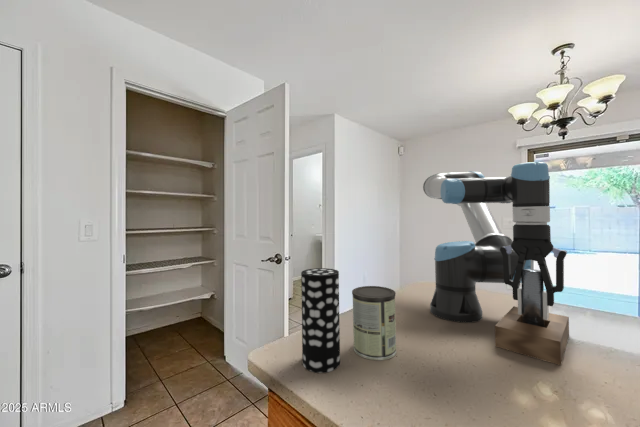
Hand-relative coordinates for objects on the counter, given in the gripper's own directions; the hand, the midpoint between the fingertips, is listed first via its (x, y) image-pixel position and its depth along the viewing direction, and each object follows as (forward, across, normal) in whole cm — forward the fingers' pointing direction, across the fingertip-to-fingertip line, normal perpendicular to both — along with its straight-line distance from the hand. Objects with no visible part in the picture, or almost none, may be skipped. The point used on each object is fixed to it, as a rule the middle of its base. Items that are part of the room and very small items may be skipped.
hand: (533, 315), depth 69 cm
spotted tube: (+7, -31, -45) cm, 55 cm away
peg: (+3, 0, 0) cm, 3 cm away
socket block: (+6, 0, 0) cm, 6 cm away
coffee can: (+7, -26, -32) cm, 42 cm away
